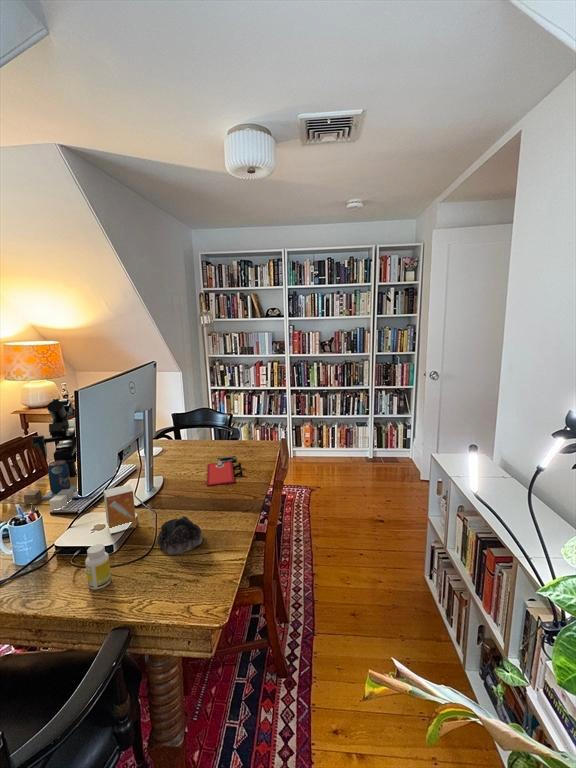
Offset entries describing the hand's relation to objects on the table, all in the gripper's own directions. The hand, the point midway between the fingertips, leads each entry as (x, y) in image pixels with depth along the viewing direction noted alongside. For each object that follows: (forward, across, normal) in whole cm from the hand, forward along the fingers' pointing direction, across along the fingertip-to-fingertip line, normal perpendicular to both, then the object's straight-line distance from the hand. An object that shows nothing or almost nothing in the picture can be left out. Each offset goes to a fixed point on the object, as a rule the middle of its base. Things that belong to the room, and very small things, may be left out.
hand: (58, 457), depth 150 cm
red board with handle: (+17, +65, +3) cm, 67 cm away
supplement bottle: (+59, +19, -39) cm, 73 cm away
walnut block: (+16, -8, +4) cm, 18 cm away
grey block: (+19, +3, +1) cm, 19 cm away
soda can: (+12, 0, +6) cm, 14 cm away
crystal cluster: (+52, +41, -32) cm, 74 cm away
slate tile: (+13, 0, +6) cm, 14 cm away
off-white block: (+22, +2, -3) cm, 22 cm away
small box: (+40, +24, -20) cm, 50 cm away
